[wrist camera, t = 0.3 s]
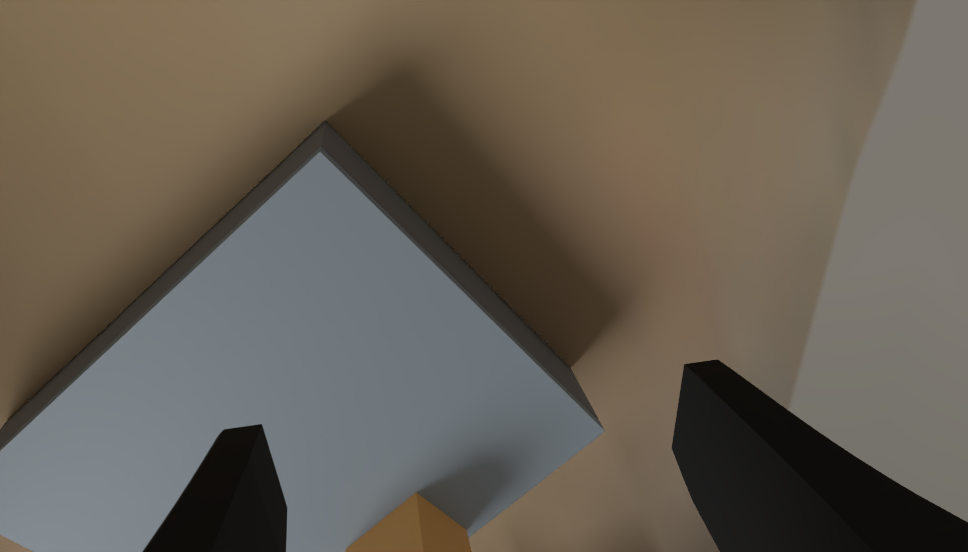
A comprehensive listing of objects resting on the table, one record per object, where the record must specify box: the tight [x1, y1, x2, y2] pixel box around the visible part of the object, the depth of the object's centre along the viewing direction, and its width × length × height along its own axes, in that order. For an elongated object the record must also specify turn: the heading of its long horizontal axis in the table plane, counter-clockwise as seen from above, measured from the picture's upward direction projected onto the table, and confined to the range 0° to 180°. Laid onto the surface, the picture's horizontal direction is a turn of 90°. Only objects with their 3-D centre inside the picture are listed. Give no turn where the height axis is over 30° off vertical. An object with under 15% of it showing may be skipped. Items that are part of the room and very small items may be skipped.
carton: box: [0, 120, 599, 447], centre depth 21 cm, size 14×12×3 cm
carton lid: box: [0, 147, 605, 552], centre depth 18 cm, size 14×12×4 cm
